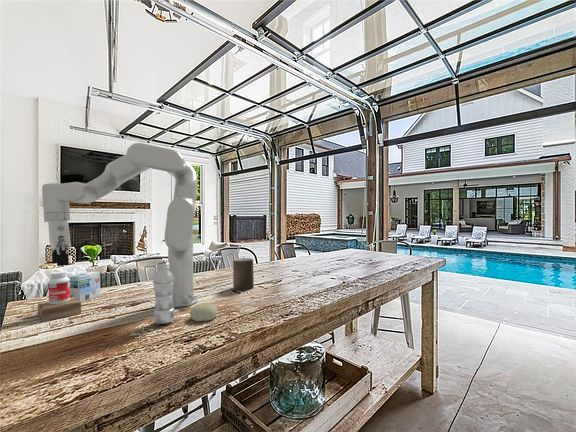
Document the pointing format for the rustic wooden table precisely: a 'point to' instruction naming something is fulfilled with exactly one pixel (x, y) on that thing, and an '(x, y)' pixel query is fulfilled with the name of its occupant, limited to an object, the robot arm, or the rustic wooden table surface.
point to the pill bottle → (59, 288)
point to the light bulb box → (85, 285)
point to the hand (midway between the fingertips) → (60, 264)
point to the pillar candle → (243, 274)
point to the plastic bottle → (163, 294)
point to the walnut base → (58, 309)
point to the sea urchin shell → (203, 312)
